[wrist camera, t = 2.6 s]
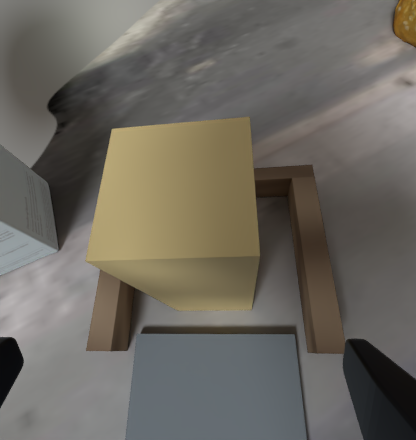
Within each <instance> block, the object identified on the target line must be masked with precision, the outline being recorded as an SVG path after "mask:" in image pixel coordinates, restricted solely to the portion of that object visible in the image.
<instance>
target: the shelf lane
mask: <svg viewBox="0 0 416 440" xmlns="http://www.w3.org/2000/svg"><path fill="white" fill-rule="evenodd" d="M254 181H255V194H256V197H275V196H287V198H288V206H289V213H290V221H291V229H292V236H293V244H294V251H295V259H296V267H297V274H298V282H299V290H300V297H301V305H302V312H303V320H304V328H305V335H306V343H307V350H308V353H332V354H344V349H345V338H344V333H343V328H342V322H341V317H340V312H339V306H338V301H337V295H336V290H335V285H334V279H333V274H332V269H331V263H330V258H329V252H328V247H327V242H326V236H325V231H324V226H323V220H322V215H321V209H320V204H319V199H318V193H317V188H316V183H315V177H314V172H313V166H312V165H301V166H286V167H270V168H255V169H254ZM134 291H135V287H133V286H131V285H129V284H127V283H125V282H123V281H121V280H120V279H118V278H116V277H114V276H112V275H110V274H108V273H106V272H105V271H103V270H101V269H100V275H99V280H98V286H97V292H96V297H95V303H94V309H93V314H92V320H91V326H90V331H89V337H88V343H87V348H86V351H127V349H128V341H129V333H130V324H131V316H132V307H133V299H134Z"/></svg>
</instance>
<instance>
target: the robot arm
mask: <svg viewBox="0 0 416 440" xmlns="http://www.w3.org/2000/svg"><path fill="white" fill-rule="evenodd" d="M23 363H24V359H23V356H22V354H21V351H20V349H19V346H18V344H17V341H16V340H15V339H14V338H12V337H0V408H1V406H2V404H3V402H4V400H5V399H6V397H7V395H8V393H9V391H10V389H11V387H12V386H13V384H14V382H15V380H16V378H17V376H18V375H19V373H20V371H21V369H22V367H23ZM343 371H344V375H345V379H346V382H347V385H348V389H349V392H350V395H351V399H352V402H353V405H354V409H355V412H356V415H357V419H358V422H359V426H360V429H361V432H362V435H363V439H364V440H416V379H415V378H413V377H412V376H411V375H410V374H408V373H407V372H406V371H405V370H403V369H402V368H401V367H400V366H398V365H397V364H396V363H394V362H393V361H392V360H391V359H389V358H388V357H387V356H386V355H384V354H383V353H382V352H380V351H379V350H378V349H377V348H375V347H374V346H373V345H372V344H370V343H369V342H368V341H366V340H364V339H347V340H346V342H345V349H344V358H343Z"/></svg>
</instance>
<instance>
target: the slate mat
mask: <svg viewBox="0 0 416 440" xmlns="http://www.w3.org/2000/svg"><path fill="white" fill-rule="evenodd" d="M125 440H307V436H306V427H305V419H304V410H303V402H302V393H301V384H300V376H299V367H298V359H297V350H296V341H295V334H137V337H136V346H135V355H134V365H133V374H132V383H131V392H130V401H129V411H128V420H127V429H126V438H125Z"/></svg>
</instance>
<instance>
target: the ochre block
mask: <svg viewBox="0 0 416 440" xmlns="http://www.w3.org/2000/svg"><path fill="white" fill-rule="evenodd" d="M259 260H260V247H259V234H258V220H257V207H256V194H255V181H254V167H253V154H252V141H251V128H250V117H242V118H230V119H219V120H208V121H196V122H185V123H174V124H162V125H151V126H140V127H128V128H117V129H112V132H111V137H110V142H109V147H108V152H107V156H106V161H105V166H104V171H103V176H102V181H101V186H100V191H99V196H98V201H97V206H96V211H95V216H94V221H93V226H92V231H91V235H90V240H89V245H88V250H87V255H86V260H85V261H86V262H88V263H90V264H91V265H93V266H95V267H97V268H99V269H101V270H103V271H105V272H106V273H108V274H110V275H112V276H114V277H116V278H118V279H120V280H121V281H123V282H125V283H127V284H129V285H131V286H133V287H135V288H136V289H138V290H140V291H142V292H144V293H146V294H148V295H149V296H151V297H153V298H155V299H157V300H159V301H161V302H163V303H164V304H166V305H168V306H170V307H172V308H174V309H176V310H178V311H198V310H252V304H253V298H254V292H255V285H256V279H257V273H258V267H259Z"/></svg>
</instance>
